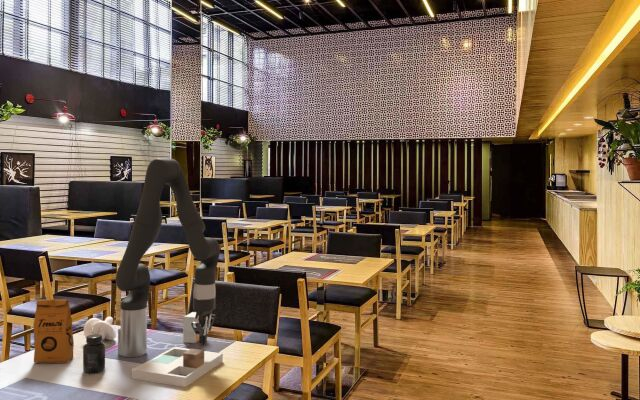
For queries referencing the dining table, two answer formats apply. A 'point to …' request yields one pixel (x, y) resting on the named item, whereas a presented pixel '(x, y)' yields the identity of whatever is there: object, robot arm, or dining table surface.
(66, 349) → the coffee package
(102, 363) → the supplement bottle
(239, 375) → the dining table surface
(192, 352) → the walnut block
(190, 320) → the small box
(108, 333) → the white lumpy figure
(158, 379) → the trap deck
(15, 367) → the dining table surface
